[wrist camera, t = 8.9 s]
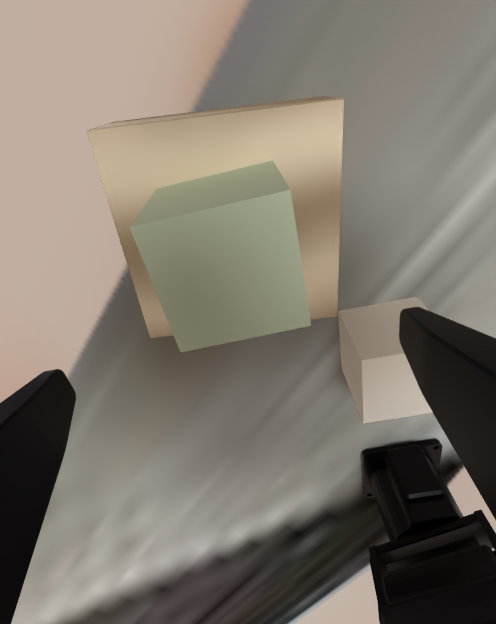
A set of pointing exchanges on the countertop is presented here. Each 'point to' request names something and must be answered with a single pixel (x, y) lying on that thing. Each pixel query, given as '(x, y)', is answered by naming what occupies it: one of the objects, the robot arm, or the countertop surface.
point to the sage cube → (224, 256)
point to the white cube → (379, 362)
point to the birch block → (224, 157)
